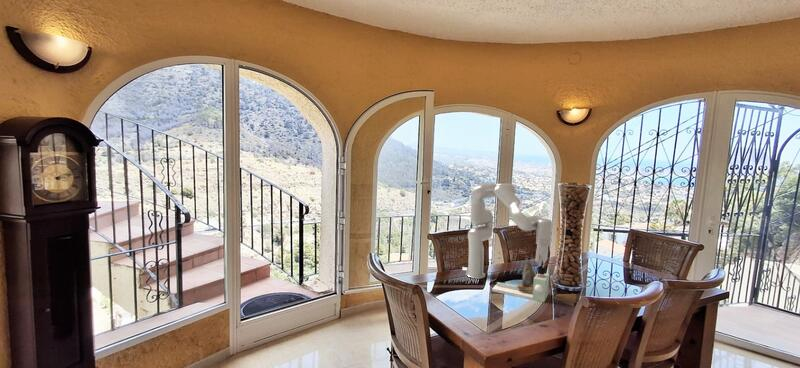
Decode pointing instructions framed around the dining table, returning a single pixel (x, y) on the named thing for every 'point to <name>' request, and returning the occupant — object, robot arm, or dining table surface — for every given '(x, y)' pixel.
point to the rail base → (511, 290)
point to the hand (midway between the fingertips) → (541, 273)
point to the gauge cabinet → (540, 287)
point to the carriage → (525, 284)
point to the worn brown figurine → (529, 271)
